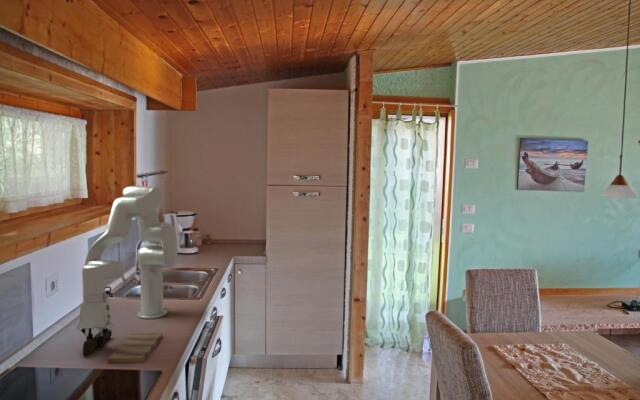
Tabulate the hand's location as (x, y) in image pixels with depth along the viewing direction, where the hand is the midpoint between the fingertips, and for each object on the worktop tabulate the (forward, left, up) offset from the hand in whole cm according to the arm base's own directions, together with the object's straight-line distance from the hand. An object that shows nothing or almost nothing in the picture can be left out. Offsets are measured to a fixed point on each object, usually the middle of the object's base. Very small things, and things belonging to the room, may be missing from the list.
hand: (95, 345), depth 178 cm
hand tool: (0, +1, -1) cm, 1 cm away
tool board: (+3, +16, -1) cm, 16 cm away
